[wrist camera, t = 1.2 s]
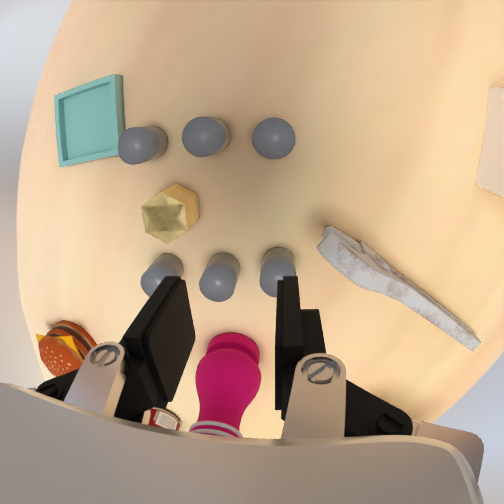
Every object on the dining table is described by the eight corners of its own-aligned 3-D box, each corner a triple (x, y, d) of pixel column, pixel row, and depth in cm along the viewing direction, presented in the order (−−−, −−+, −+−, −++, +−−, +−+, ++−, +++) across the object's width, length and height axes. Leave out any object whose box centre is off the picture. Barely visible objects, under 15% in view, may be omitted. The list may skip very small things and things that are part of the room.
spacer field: (136, 129, 25) (115, 131, 21) (292, 114, 24) (294, 111, 20) (158, 280, 31) (144, 299, 28) (294, 280, 30) (296, 301, 26)
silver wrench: (457, 328, 34) (303, 222, 27) (465, 319, 33) (315, 206, 26) (482, 365, 27) (323, 265, 20) (491, 356, 26) (339, 245, 19)
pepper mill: (194, 353, 35) (145, 494, 17) (224, 318, 32) (177, 484, 14) (241, 379, 36) (217, 519, 18) (275, 348, 34) (265, 509, 15)
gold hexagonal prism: (157, 185, 27) (139, 194, 24) (195, 181, 27) (182, 190, 23) (163, 229, 29) (147, 244, 25) (200, 228, 29) (188, 243, 25)
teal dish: (62, 96, 24) (54, 96, 22) (122, 75, 23) (114, 73, 21) (68, 165, 27) (59, 167, 25) (127, 153, 26) (119, 154, 25)
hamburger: (82, 316, 35) (57, 345, 29) (111, 366, 39) (94, 397, 33) (44, 319, 37) (21, 343, 31) (72, 364, 40) (54, 390, 34)
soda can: (162, 401, 41) (138, 461, 30) (189, 424, 43) (172, 482, 32) (136, 407, 42) (112, 461, 32) (162, 428, 44) (143, 481, 33)
